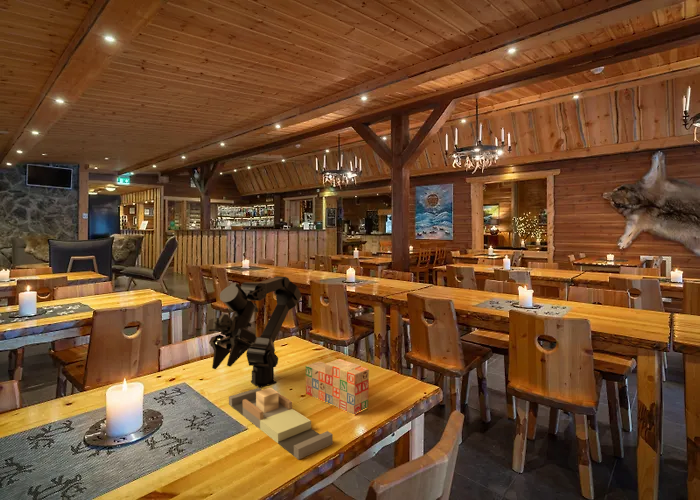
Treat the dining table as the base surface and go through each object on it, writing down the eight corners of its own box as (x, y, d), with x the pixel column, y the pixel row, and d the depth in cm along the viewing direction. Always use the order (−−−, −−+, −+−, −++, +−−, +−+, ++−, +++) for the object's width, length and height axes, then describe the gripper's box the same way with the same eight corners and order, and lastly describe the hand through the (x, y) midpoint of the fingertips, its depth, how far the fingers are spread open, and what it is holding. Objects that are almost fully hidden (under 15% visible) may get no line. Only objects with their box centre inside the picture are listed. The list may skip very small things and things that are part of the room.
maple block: (270, 402, 115) (270, 387, 114) (278, 408, 111) (278, 392, 111) (256, 407, 112) (256, 391, 111) (264, 413, 108) (264, 397, 108)
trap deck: (259, 395, 125) (258, 381, 125) (332, 444, 98) (332, 426, 97) (228, 404, 119) (228, 389, 119) (298, 459, 91) (298, 440, 91)
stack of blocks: (305, 394, 127) (305, 356, 126) (319, 388, 131) (319, 351, 131) (354, 416, 112) (354, 373, 111) (368, 409, 117) (369, 368, 116)
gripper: (205, 312, 125) (182, 359, 116) (233, 300, 112) (210, 352, 103) (235, 327, 130) (215, 373, 121) (265, 317, 117) (246, 368, 109)
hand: (221, 367), depth 113 cm, fingers open, 9 cm apart
